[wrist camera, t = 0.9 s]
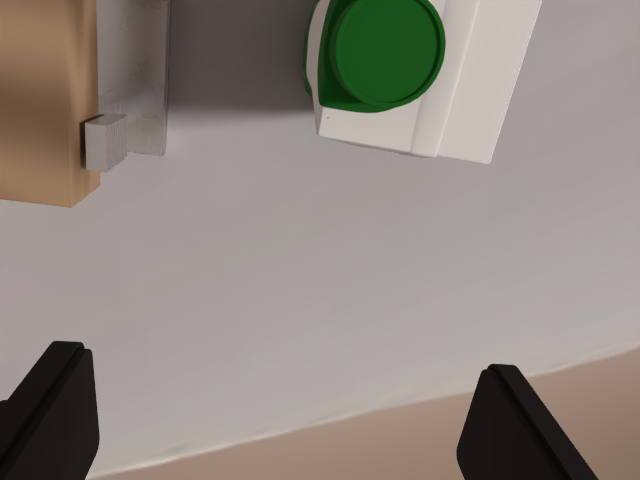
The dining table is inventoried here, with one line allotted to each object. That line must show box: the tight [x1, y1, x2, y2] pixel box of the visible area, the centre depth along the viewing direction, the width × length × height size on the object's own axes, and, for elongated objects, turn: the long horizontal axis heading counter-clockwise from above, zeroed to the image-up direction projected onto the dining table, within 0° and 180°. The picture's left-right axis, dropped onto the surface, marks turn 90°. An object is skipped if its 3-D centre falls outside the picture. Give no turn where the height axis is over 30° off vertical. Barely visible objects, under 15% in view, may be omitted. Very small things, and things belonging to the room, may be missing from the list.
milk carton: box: [303, 0, 542, 164], centre depth 25 cm, size 9×9×20 cm
